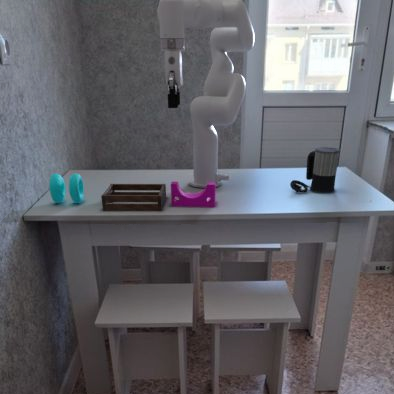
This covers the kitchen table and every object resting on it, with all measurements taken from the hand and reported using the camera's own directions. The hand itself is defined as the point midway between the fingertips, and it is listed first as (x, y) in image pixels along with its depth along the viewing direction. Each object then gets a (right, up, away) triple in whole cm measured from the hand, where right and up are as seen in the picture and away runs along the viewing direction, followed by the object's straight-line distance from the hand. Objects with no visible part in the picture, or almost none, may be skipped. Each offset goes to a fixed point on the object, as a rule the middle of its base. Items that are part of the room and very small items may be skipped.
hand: (174, 106), depth 162 cm
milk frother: (+52, -20, +25) cm, 61 cm away
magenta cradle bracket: (+6, -30, +10) cm, 32 cm away
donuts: (-38, -29, +12) cm, 49 cm away
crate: (-14, -29, +11) cm, 34 cm away
